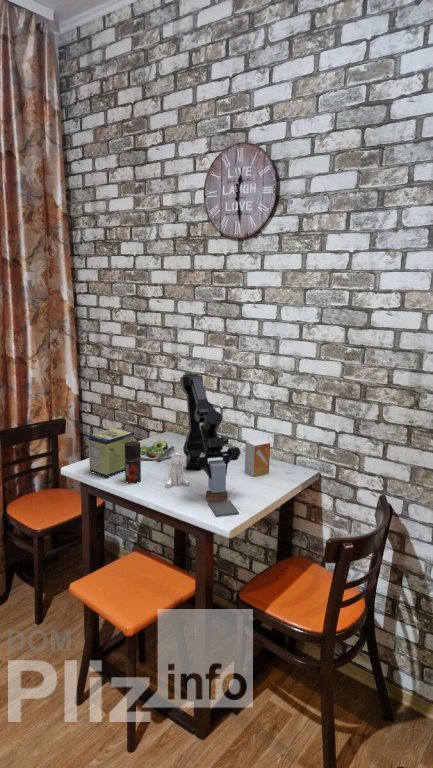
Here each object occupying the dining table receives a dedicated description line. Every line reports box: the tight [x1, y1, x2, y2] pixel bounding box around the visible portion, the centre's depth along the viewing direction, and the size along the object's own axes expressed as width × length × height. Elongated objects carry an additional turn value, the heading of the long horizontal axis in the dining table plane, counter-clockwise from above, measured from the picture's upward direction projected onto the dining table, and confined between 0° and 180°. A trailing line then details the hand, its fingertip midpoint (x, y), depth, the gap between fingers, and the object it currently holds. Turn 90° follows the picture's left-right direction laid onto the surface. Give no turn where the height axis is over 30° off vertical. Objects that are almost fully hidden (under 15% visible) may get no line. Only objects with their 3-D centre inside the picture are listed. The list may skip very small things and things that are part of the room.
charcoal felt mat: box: [207, 500, 240, 518], centre depth 179 cm, size 10×8×1 cm
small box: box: [244, 438, 271, 477], centre depth 212 cm, size 8×6×13 cm
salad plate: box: [140, 440, 175, 462], centre depth 232 cm, size 19×18×5 cm
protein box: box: [88, 427, 135, 478], centre depth 212 cm, size 10×16×16 cm
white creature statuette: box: [164, 452, 191, 489], centre depth 200 cm, size 10×9×12 cm
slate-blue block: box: [207, 459, 227, 493], centre depth 185 cm, size 5×5×10 cm
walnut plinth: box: [205, 489, 229, 504], centre depth 186 cm, size 4×7×3 cm, turn 106°
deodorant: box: [124, 440, 142, 484], centre depth 201 cm, size 6×6×15 cm
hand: (218, 477), depth 183 cm, fingers closed on slate-blue block, 5 cm apart
